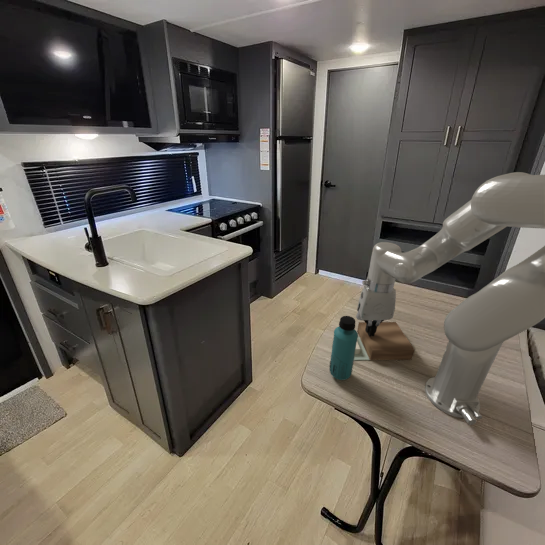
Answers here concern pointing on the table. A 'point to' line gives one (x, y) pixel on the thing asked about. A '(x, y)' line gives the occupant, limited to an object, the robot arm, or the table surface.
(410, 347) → the flat brown wooden block
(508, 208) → the robot arm
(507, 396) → the table surface
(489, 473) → the table surface
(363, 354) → the mat
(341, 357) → the beverage bottle
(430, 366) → the table surface
